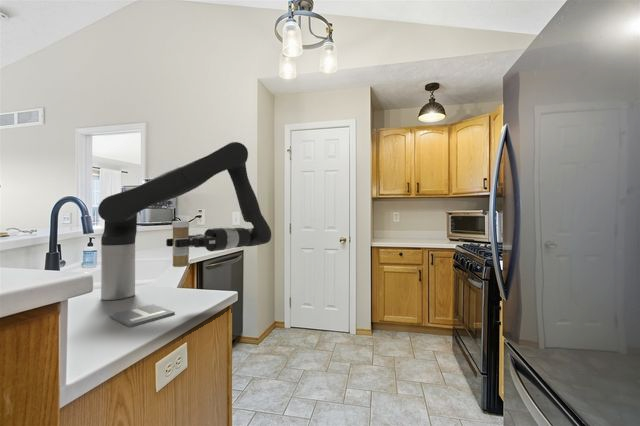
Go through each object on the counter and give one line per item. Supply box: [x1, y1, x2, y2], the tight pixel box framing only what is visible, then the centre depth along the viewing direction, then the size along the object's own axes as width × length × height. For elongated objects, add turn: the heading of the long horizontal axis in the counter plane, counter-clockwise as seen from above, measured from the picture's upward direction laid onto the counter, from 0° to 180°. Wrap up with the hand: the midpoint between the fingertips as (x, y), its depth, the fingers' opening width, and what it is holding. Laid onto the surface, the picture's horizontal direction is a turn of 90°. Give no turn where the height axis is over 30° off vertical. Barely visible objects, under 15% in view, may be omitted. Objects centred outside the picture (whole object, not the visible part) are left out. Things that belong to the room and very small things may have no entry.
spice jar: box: [171, 220, 190, 268], centre depth 86 cm, size 5×5×14 cm
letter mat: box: [108, 303, 175, 328], centre depth 77 cm, size 12×11×1 cm
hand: (171, 243), depth 84 cm, fingers closed on spice jar, 4 cm apart
